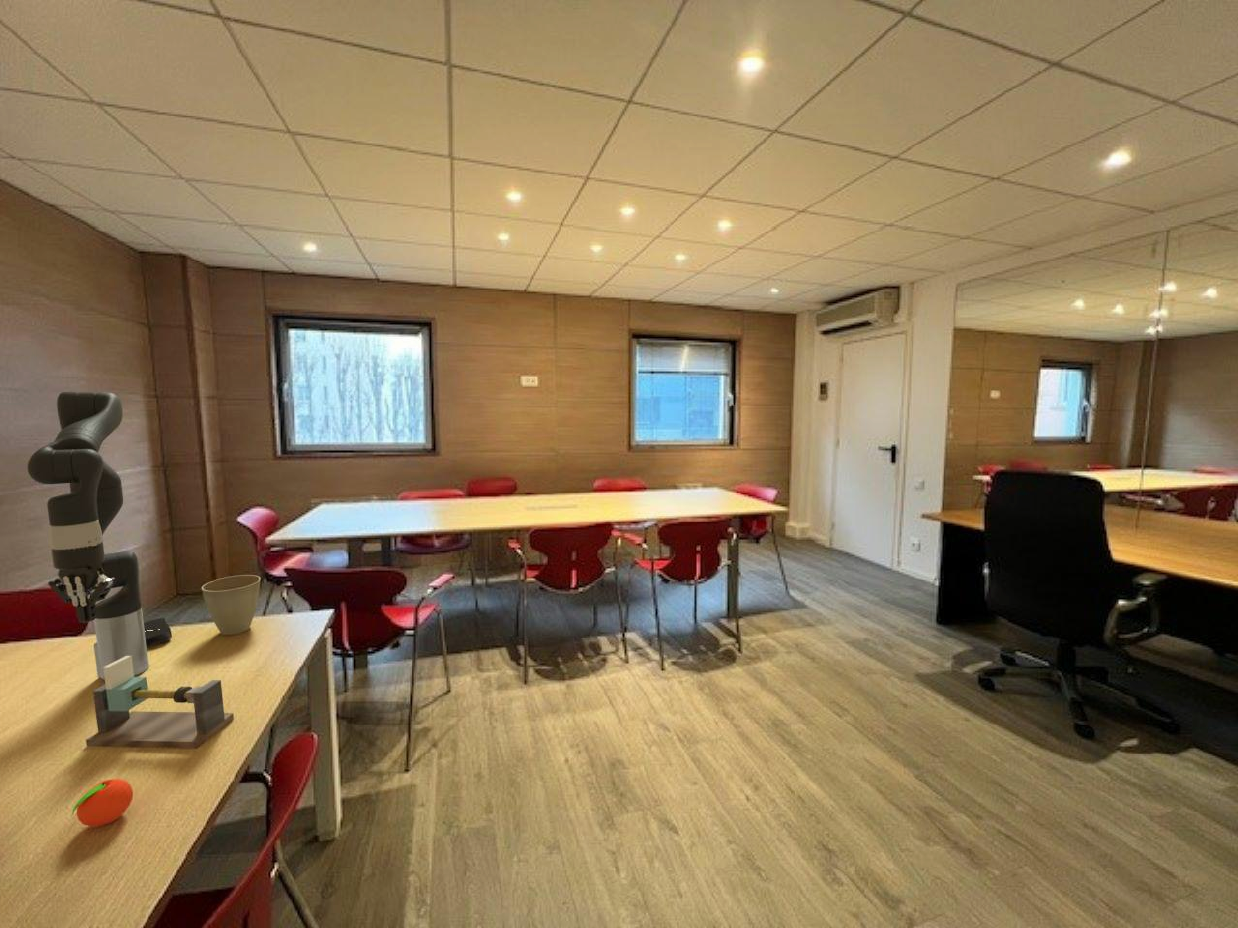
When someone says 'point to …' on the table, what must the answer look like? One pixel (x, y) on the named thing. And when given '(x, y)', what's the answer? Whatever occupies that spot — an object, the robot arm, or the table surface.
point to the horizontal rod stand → (162, 719)
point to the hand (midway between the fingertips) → (87, 620)
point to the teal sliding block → (123, 685)
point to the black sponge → (157, 631)
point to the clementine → (104, 802)
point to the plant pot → (232, 602)
